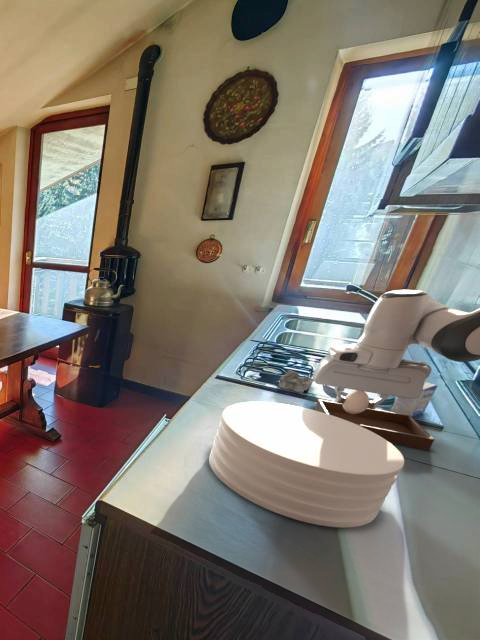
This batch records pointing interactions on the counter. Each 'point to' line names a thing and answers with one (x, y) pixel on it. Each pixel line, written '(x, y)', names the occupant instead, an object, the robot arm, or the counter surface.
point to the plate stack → (304, 463)
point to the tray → (383, 424)
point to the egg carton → (295, 382)
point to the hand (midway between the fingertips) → (354, 405)
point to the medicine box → (415, 402)
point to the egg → (356, 402)
